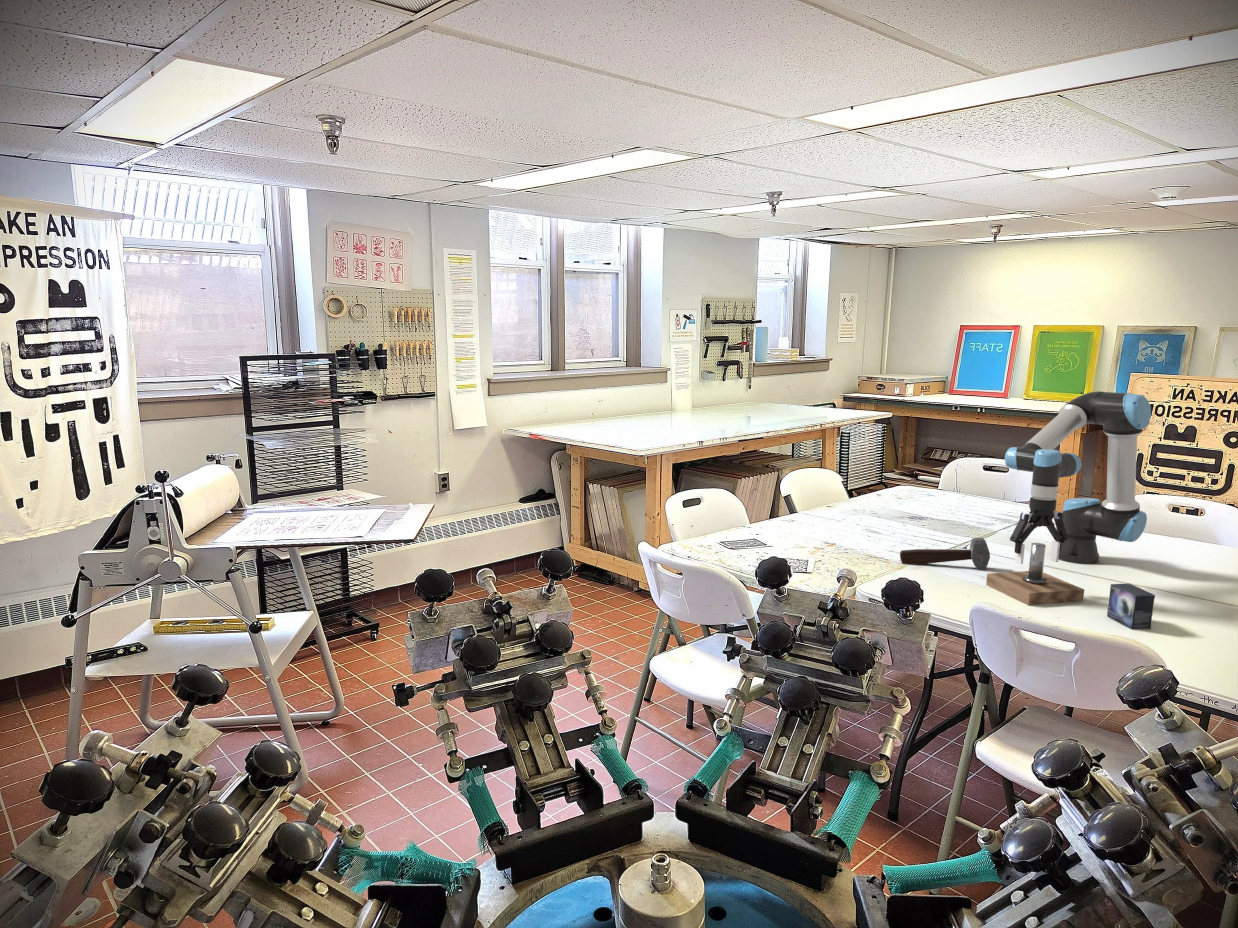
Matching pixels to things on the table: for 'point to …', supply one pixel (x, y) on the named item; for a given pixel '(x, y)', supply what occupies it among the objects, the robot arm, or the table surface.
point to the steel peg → (1036, 565)
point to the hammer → (949, 555)
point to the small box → (1130, 606)
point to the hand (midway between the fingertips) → (1036, 562)
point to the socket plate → (1035, 588)
